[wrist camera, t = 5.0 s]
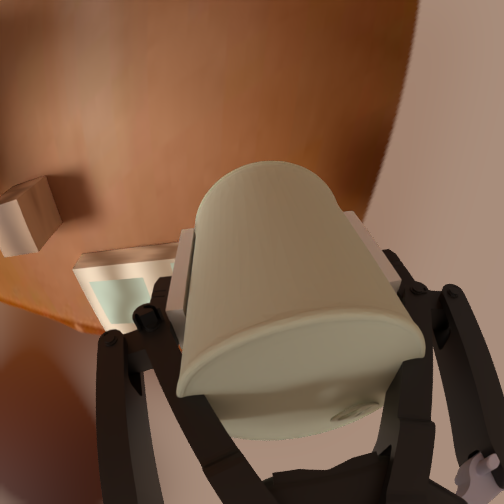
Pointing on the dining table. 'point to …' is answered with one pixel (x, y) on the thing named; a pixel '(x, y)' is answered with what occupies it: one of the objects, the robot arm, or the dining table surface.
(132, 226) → the dining table surface
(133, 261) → the board
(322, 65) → the dining table surface
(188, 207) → the dining table surface
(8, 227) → the cube
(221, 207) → the can
